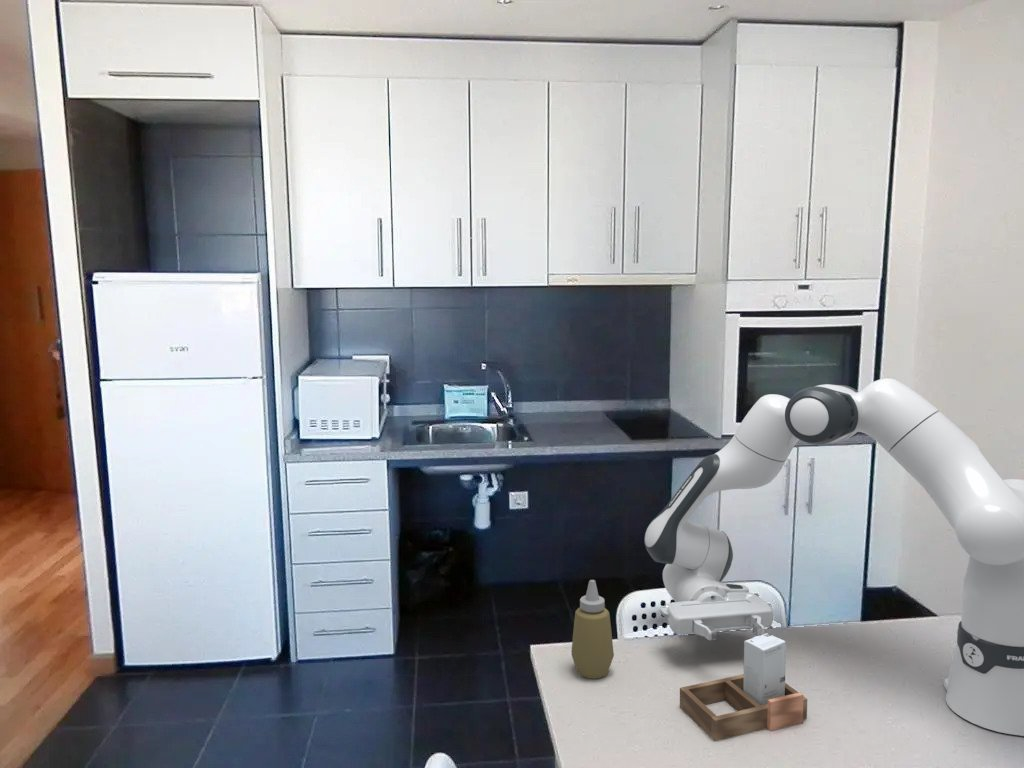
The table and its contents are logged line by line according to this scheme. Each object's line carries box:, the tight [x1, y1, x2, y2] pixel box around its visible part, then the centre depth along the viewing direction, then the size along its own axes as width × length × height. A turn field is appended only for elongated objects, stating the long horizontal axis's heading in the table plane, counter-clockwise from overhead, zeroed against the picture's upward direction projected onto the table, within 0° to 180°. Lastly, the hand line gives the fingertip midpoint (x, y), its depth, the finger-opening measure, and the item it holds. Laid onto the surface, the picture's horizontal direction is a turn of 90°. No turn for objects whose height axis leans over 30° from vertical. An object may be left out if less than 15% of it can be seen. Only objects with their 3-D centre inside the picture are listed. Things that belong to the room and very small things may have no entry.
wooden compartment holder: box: [679, 673, 808, 742], centre depth 124 cm, size 18×11×5 cm, turn 109°
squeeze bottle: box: [571, 579, 615, 679], centre depth 139 cm, size 8×8×18 cm
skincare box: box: [743, 632, 787, 706], centre depth 126 cm, size 6×4×12 cm
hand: (737, 634), depth 135 cm, fingers open, 8 cm apart
